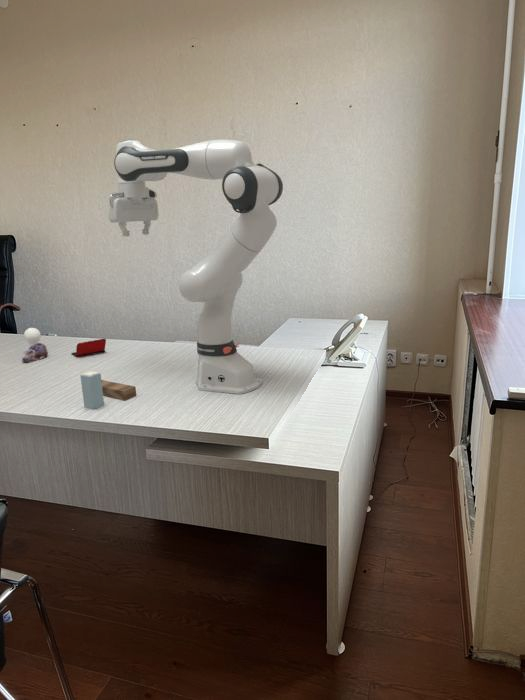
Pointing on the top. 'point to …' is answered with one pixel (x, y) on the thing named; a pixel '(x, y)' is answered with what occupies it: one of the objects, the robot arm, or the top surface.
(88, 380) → the block
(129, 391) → the rail
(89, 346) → the handheld game console
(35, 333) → the lightbulb
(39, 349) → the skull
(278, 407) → the top surface
